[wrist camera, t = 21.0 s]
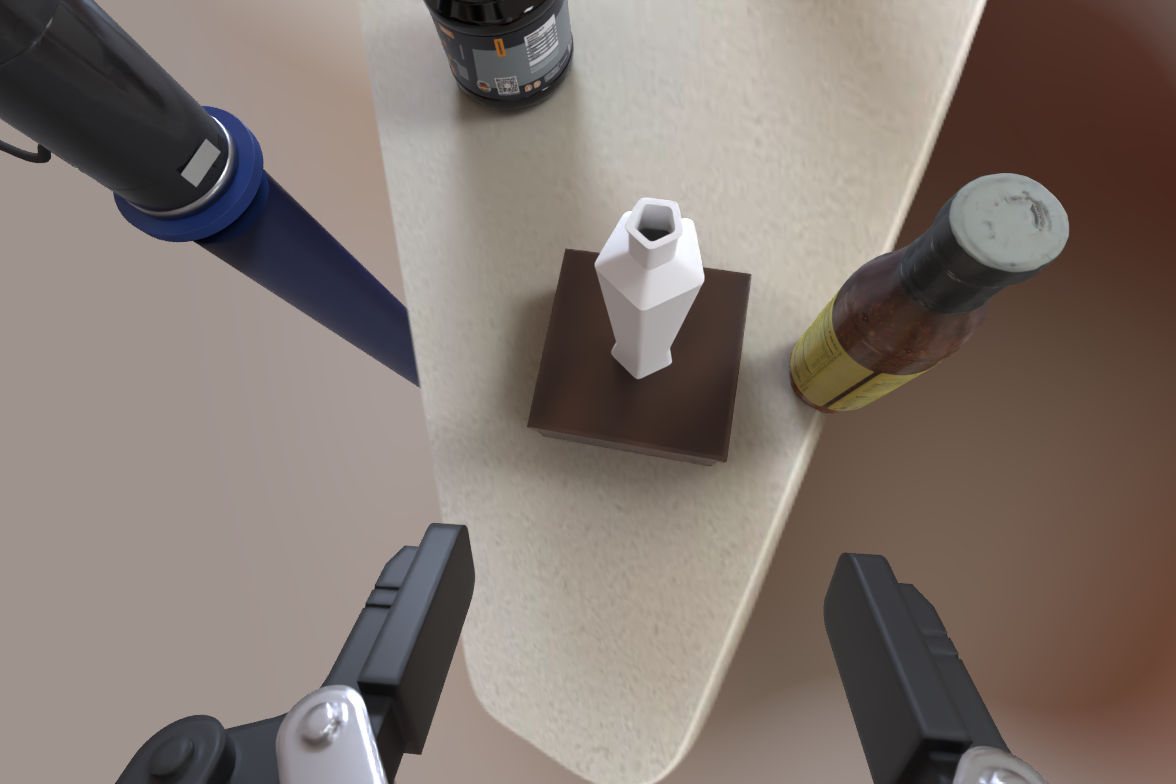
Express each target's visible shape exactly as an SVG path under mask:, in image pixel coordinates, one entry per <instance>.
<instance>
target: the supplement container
mask: <svg viewBox="0 0 1176 784" xmlns="http://www.w3.org/2000/svg"><path fill="white" fill-rule="evenodd" d="M423 1H424V3H425V5H426V7H427V8H428V10H429V11H430V14H431V16H432V19H433V22H434V24H435V27H436V29H437V32H438V35H439V37H440V40H441V42H442V45H443V47H444V50H445V53H446V55H447V58H448V60H449V64H450V68H451V71H452V73H453V76H454V78H455V80H456V82H457V83H458V85H459V86H460V88H461V89H462V90H463V91H464V92H465V93H466V94H467V95H468V96H469V97H470V98H472V99H473V100H475V101H476V102H478V103H480V104H482V105H484V106H487V107H490V108H494V109H501V110H515V109H522V108H526V107H529V106H532V105H535V104H537V103H539V102H541V101H543V100H544V99H546V98H548V97H549V96H550V95H552V94H553V93H554V92H555V91H556V90H557V89H558V88H559V87H560V86H561V84H562V83H563V82H564V80H565V79H566V77H567V75H568V73H569V71H570V68H571V65H572V60H573V53H574V46H573V37H572V33H571V27H570V18H569V9H568V1H567V0H423Z"/></svg>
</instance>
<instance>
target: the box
mask: <svg viewBox="0 0 1176 784" xmlns="http://www.w3.org/2000/svg"><path fill="white" fill-rule="evenodd" d="M599 255H600V253H596V252H589V251H582V250H575V249H568V248H566V249H565V253H564V258H563V263H562V267H561V272H560V276H559V281H558V286H557V290H556V295H555V300H554V304H553V309H552V313H551V318H550V323H549V327H548V332H547V337H546V341H545V346H544V350H543V355H542V360H541V364H540V369H539V374H538V378H537V383H536V387H535V392H534V397H533V401H532V406H531V411H530V415H529V420H528V424H527V427H528V428H531V429H537V430H538V431H539V432H540V433H541V434H542V435H543V436H545V437H550V438H556V439H561V440H567V441H573V442H578V443H584V444H589V445H595V446H600V447H606V448H612V449H617V450H623V451H628V452H634V453H639V454H645V455H651V456H656V457H662V458H667V459H673V460H678V461H684V462H690V463H695V464H701V465H706V466H712V465H714V464H715V463H717V462H722V463H725V462H727V457H728V449H729V441H730V434H731V426H732V419H733V411H734V404H735V396H736V388H737V381H738V373H739V366H740V358H741V351H742V343H743V335H744V328H745V320H746V313H747V305H748V298H749V290H750V282H751V274H747V273H739V272H732V271H725V270H718V269H711V268H704V267H703V272H704V282H703V284H702V286H701V288H700V290H699V292H698V294H697V296H696V298H695V300H694V302H693V304H692V306H691V308H690V310H689V311H688V313H687V315H686V317H685V319H684V321H683V323H682V325H681V327H680V329H679V331H678V333H677V335H676V337H675V339H674V341H673V343H672V345H671V347H670V351H671V357H672V363H671V364H670V365H668V366H666V367H664V368H662V369H660V370H658V371H656V372H654V373H651V374H649V375H647V376H645V377H643V378H641V379H636V378H634V377H633V376H632V375H631V374H630V373H629V372H628V371H627V370H626V369H625V368H624V367H623V366H622V365H621V364H620V363H619V362H618V361H617V360H616V359H615V358H614V357H613V356H612V354H611V351H612V349H613V347H614V345H615V343H616V339H615V336H614V332H613V329H612V325H611V322H610V318H609V315H608V311H607V308H606V304H605V301H604V297H603V293H602V290H601V286H600V283H599V279H598V276H597V272H596V269H595V262H596V260H597V258H598V256H599Z"/></svg>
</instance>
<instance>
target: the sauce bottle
mask: <svg viewBox="0 0 1176 784" xmlns="http://www.w3.org/2000/svg"><path fill="white" fill-rule="evenodd" d="M1068 236H1069V222H1068V216H1067V214H1066V212H1065V210H1064V208H1063V207H1062V205H1061V204H1060V202H1059V201H1058V200H1057V199H1056V197H1055V196H1054V195H1052V194H1051V193H1050V192H1049V191H1048V190H1047V189H1045V187H1043V186H1042V185H1041V184H1040V183H1037V182H1035V181H1033V180H1032V179H1030V178H1028V177H1025V176H1021V175H1017V174H1008V173H1002V174H992V175H988V176H981V177H979V178H977V179H975V180H973V181H971V182H969V183H968V184H966V185H965V186H964V187H962V188H961V189H960V190H959V191H958V192H957V193H956V194H955V195H954V196H953V197H952V198H951V199H950V200H949V201H947V202H946V203H945V204H944V206H943V207H942V208H941V209H940V211H939V212H938V214H937V216H936V218H935V220H934V223H933V225H932V226H931V227H930V228H929V229H928V230H927V231H926V232H925V233H924V234H923V235H921V236H920V237H918V238H917V239H916V240H915V241H913V242H912V243H911V244H910V245H908V246H906V247H903V248H901V249H899V250H896V251H894V252H890V253H886V254H883V255H881V256H878V257H876V258H874V259H872V260H871V261H869V262H867V263H866V264H864V265H863V266H861V267H860V268H859V269H858V270H857V271H856V272H854V273H853V274H852V275H851V277H850V278H849V279H848V280H847V281H846V282H845V283H844V285H843V286H842V287H841V289H840V290H839V291H838V292H837V293H836V295H835V296H834V297H833V298H832V300H831V301H830V302H829V303H828V304H827V306H826V307H825V308H824V309H823V310H822V312H821V313H820V314H819V315H818V316H817V318H816V319H815V320H814V322H813V323H812V324H811V326H810V327H809V328H808V329H807V331H806V332H805V333H804V334H803V335H802V337H801V338H800V339H799V341H798V342H797V344H796V345H795V347H794V350H793V352H792V354H791V357H790V365H789V368H790V369H789V374H790V380H791V385H792V388H793V390H794V391H795V392H796V393H797V394H798V395H799V397H800V398H801V399H802V400H804V401H805V402H806V403H808V404H809V405H810V406H812V407H814V408H816V409H818V410H819V411H821V412H827V413H841V412H847V411H851V410H856V409H859V408H862V407H864V406H866V405H868V404H870V403H871V402H873V401H875V400H877V399H878V398H880V397H882V396H884V395H885V394H887V393H889V392H891V391H892V390H894V389H896V388H897V387H899V386H901V385H903V384H904V383H906V382H908V381H910V380H911V379H913V378H915V377H917V376H918V375H920V374H922V373H924V372H925V371H927V370H929V369H931V368H932V367H934V366H936V365H937V364H938V363H940V362H941V361H942V360H943V359H944V358H946V357H948V356H949V355H951V354H952V353H954V352H956V351H957V350H958V349H959V348H960V347H961V346H962V345H963V344H965V343H966V342H967V341H968V340H969V339H970V338H971V336H972V334H973V333H974V332H975V331H976V330H977V329H978V328H979V327H981V326H982V325H983V324H984V323H985V321H986V319H987V318H986V314H987V309H988V305H989V300H990V299H991V298H992V296H993V295H994V294H996V293H998V292H999V291H1000V290H1002V289H1003V288H1004V287H1006V286H1008V285H1013V284H1017V283H1020V282H1023V281H1025V280H1027V279H1029V278H1031V277H1033V276H1034V275H1036V274H1037V273H1039V272H1040V271H1041V270H1042V269H1043V268H1045V267H1046V266H1047V265H1048V264H1050V262H1052V261H1053V260H1054V259H1056V258H1057V257H1058V255H1059V254H1060V253H1061V252H1062V250H1063V249H1064V247H1065V243H1066V241H1067V239H1068Z"/></svg>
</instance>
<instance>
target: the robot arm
mask: <svg viewBox="0 0 1176 784" xmlns="http://www.w3.org/2000/svg"><path fill="white" fill-rule="evenodd" d="M0 119H1V120H3V121H5V122H6V123H8V124H9V125H11V126H12V127H14V128H15V129H17V130H19V131H20V132H22V133H23V134H25V135H27V136H28V137H30V138H31V139H32V140H34V141H36V142H37V143H39V144H38V153H31V152H27V151H24V150H21V149H19V148H16V147H14V146H12V145H10V144H7V143H5V142H3V141H1V140H0V150H2V151H5V152H7V153H9V154H11V155H14V156H16V157H18V158H21V159H23V160H26V161H29V162H35V163H46V162H48V161H49V160H50V159H51V152H52V153H53V154H55V155H57V156H58V157H60V158H61V159H63V160H64V161H66V162H68V163H69V164H71V165H72V166H74V167H75V168H77V169H78V170H80V171H81V172H83V173H85V174H87V175H88V176H90V177H92V178H93V179H95V180H96V181H97V182H99V183H101V184H102V185H104V186H105V187H107V188H108V189H110V190H111V191H113V192H114V193H116V194H118V195H119V196H121V197H122V198H124V199H125V200H126V201H127V202H128V203H130V204H131V205H132V206H134V207H135V208H137V209H138V210H140V211H142V212H143V213H145V214H146V215H148V216H151V217H153V218H156V219H161V220H180V219H185V218H188V217H191V216H194V215H197V214H199V213H201V212H203V211H205V210H206V209H208V208H209V207H211V206H212V205H213V204H215V203H216V202H217V201H218V200H219V199H220V198H221V197H222V196H223V195H224V194H225V193H226V191H227V190H228V189H229V187H230V186H231V184H232V182H233V180H234V178H235V175H236V172H237V169H238V164H239V151H238V147H237V144H236V141H235V139H234V137H233V136H232V134H231V133H230V132H229V131H228V130H227V129H226V128H225V127H224V126H223V125H222V124H221V123H220V122H219V121H218V120H217V119H216V118H214V117H213V116H211V115H210V114H209V113H208V112H207V111H206V110H205V109H204V108H203V107H202V106H201V105H200V104H199V103H197V101H196V100H195V99H194V98H193V97H192V96H191V95H190V94H189V93H188V92H187V91H186V90H185V89H184V88H183V87H182V86H181V85H180V84H179V83H178V82H177V81H176V80H174V79H173V78H172V77H171V76H170V75H169V74H168V73H167V72H166V71H165V70H164V69H163V68H162V67H161V66H160V65H159V64H158V63H157V62H156V61H155V60H154V59H153V58H152V57H151V56H150V55H149V54H148V53H147V52H146V51H145V50H144V49H143V48H142V47H141V46H140V45H139V44H138V43H137V42H136V41H135V40H134V39H133V38H132V37H131V36H130V35H129V34H128V33H127V32H125V31H124V30H123V29H122V28H121V27H120V26H119V25H118V24H117V23H116V22H115V21H114V20H113V19H112V18H111V17H110V16H109V15H108V14H107V13H106V12H105V11H104V10H103V9H102V8H101V7H100V6H99V5H98V4H97V3H96V2H95V1H94V0H0ZM474 583H475V570H474V564H473V558H472V552H471V546H470V539H469V533H468V529H467V527H466V525H456V524H442V523H432V524H430V526H429V527H428V529H427V530H426V533H425V535H424V537H423V539H422V541H421V543H420V545H419V547H415V546H404V547H403V548H402V549H401V550H400V551H399V552H398V553H397V554H396V555H395V556H394V557H393V558H391V559H390V560H389V562H387V563H386V565H385V567H384V569H383V570H382V572H381V574H380V576H379V578H378V580H377V582H376V584H375V589H374V590H372V592H371V594H370V596H369V598H368V600H367V602H366V606H365V608H363V609H362V611H361V613H360V615H359V617H358V620H357V621H356V623H355V625H354V627H353V629H352V631H351V633H350V635H349V637H348V638H347V640H346V642H345V644H344V646H343V648H342V650H341V652H340V654H339V656H338V658H337V660H336V662H335V664H334V665H333V667H332V669H331V671H330V673H329V676H328V677H327V678H326V680H325V682H324V683H323V684H322V686H321V687H320V688H319V689H318V690H315V691H313V692H311V693H310V694H308V695H307V696H305V697H304V698H302V699H301V700H300V701H299V702H298V703H297V704H296V705H294V707H293V708H292V709H291V710H290V711H289V712H287V713H285V714H283V715H280V716H277V717H274V718H270V719H266V720H262V721H257V722H254V723H250V724H245V725H241V726H237V727H233V728H229V729H224V727H223V726H222V725H221V723H220V722H219V721H218V720H217V719H216V718H214V717H211V716H208V715H194V716H189V717H186V718H183V719H180V720H178V721H175V722H173V723H171V724H169V725H168V726H166V727H164V728H163V729H161V730H160V731H159V732H157V733H156V734H155V735H153V736H152V737H151V738H150V739H149V740H148V741H147V742H145V744H144V745H143V746H142V747H141V748H140V749H139V750H138V751H137V753H136V754H135V755H134V757H133V758H132V759H131V761H130V762H129V764H128V765H127V767H126V768H125V770H124V771H123V773H122V774H121V776H120V777H119V779H118V780H117V782H116V783H115V784H396V782H395V776H396V773H397V770H398V767H399V764H400V762H401V759H402V756H403V753H409V754H419V755H421V754H422V750H423V747H424V744H425V741H426V738H427V735H428V732H429V729H430V726H431V723H432V719H433V716H434V713H435V710H436V707H437V704H438V701H439V698H440V695H441V692H442V689H443V686H444V683H445V679H446V676H447V673H448V670H449V667H450V664H451V661H452V658H453V655H454V652H455V649H456V646H457V643H458V639H459V636H460V633H461V630H462V627H463V624H464V621H465V618H466V615H467V612H468V609H469V606H470V602H471V599H472V595H473V590H474ZM824 622H825V628H826V631H827V635H828V638H829V640H830V644H831V647H832V651H833V653H834V657H835V660H836V663H837V667H838V670H839V673H840V676H841V679H842V683H843V686H844V689H845V692H846V696H847V699H848V702H849V705H850V708H851V712H852V714H853V718H854V721H855V724H856V727H857V731H858V734H859V737H860V740H861V743H862V747H863V750H864V753H865V756H866V760H867V763H868V766H869V769H870V772H871V775H872V779H873V782H874V784H1048V782H1047V781H1046V780H1045V779H1044V778H1043V777H1042V776H1041V775H1040V774H1039V773H1038V772H1037V771H1036V770H1034V769H1033V768H1032V767H1031V766H1030V765H1029V764H1027V763H1026V762H1024V761H1023V760H1021V759H1020V758H1018V757H1016V756H1014V755H1013V754H1012V753H1011V751H1010V750H1009V749H1008V747H1007V745H1006V744H1005V742H1004V740H1003V739H1002V737H1001V735H1000V733H999V731H998V729H997V727H996V725H995V723H994V721H993V719H992V718H991V716H990V714H989V712H988V710H987V708H986V706H985V704H984V702H983V700H982V698H981V696H980V695H979V692H978V691H977V689H976V687H975V685H974V683H973V681H972V679H971V677H970V675H969V673H968V671H967V670H966V668H965V666H964V664H963V662H962V660H961V659H959V658H958V652H957V650H956V649H955V647H954V644H953V643H952V641H951V639H950V638H948V636H947V631H946V629H945V627H944V626H943V624H942V622H941V619H940V618H939V616H938V614H937V612H936V610H935V608H934V607H933V606H932V604H931V603H930V602H928V600H927V599H926V598H925V597H924V596H923V595H922V594H921V593H920V592H919V591H918V590H917V589H916V588H915V587H914V586H913V585H912V584H903V583H898V582H897V580H896V578H895V576H894V573H893V571H892V569H891V567H890V565H889V563H888V561H887V560H886V558H885V557H883V556H882V555H871V554H856V553H842V554H841V556H840V558H839V560H838V563H837V566H836V568H835V571H834V574H833V577H832V580H831V583H830V586H829V588H828V591H827V594H826V597H825V600H824Z"/></svg>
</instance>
